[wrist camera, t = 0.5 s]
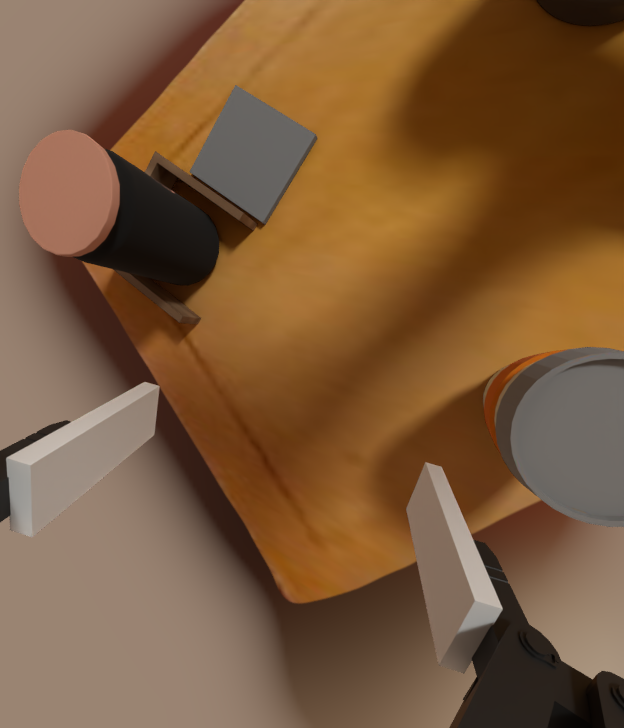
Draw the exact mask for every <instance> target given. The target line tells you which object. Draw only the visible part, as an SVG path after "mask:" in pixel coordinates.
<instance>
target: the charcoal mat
mask: <svg viewBox="0 0 624 728" xmlns="http://www.w3.org/2000/svg"><path fill="white" fill-rule="evenodd" d="M316 140H317V136H316V134H314V133H313V132H311V131H309V130H308V129H306V128H305V127H303V126H301V125H300V124H298V123H296V122H295V121H293V120H292V119H290V118H288V117H287V116H285V115H283V114H282V113H280V112H279V111H277V110H275V109H274V108H272V107H270V106H269V105H267V104H266V103H264V102H262V101H261V100H259V99H257V98H256V97H254V96H253V95H251V94H249V93H248V92H246V91H244V90H243V89H241V88H240V87H238V86H236V85H235V87H234V89H233V91H232V93H231V95H230V97H229V98H228V100H227V102H226V104H225V106H224V108H223V110H222V112H221V114H220V115H219V117H218V119H217V121H216V123H215V125H214V127H213V129H212V131H211V132H210V134H209V136H208V138H207V140H206V142H205V144H204V146H203V148H202V149H201V151H200V153H199V155H198V157H197V159H196V161H195V163H194V165H193V166H192V168H191V170H190V173H192V174H193V175H194V176H196V177H197V178H199V179H200V180H202V181H203V182H204V183H206V184H207V185H209V186H210V187H212V188H213V189H215V190H216V191H217V192H219V193H220V194H222V195H223V196H225V197H226V198H227V199H229V200H230V201H232V202H233V203H235V204H236V205H238V206H239V207H240V208H242V209H243V210H245V211H246V212H248V213H249V214H250V215H252V216H253V217H255V218H256V219H258V220H259V221H261V222H262V223H263V224H266V223H267V221H268V219H269V218H270V216H271V214H272V213H273V211H274V209H275V208H276V206H277V204H278V203H279V201H280V200H281V198H282V196H283V195H284V193H285V191H286V190H287V188H288V186H289V185H290V183H291V181H292V180H293V178H294V176H295V175H296V173H297V171H298V170H299V168H300V166H301V165H302V163H303V161H304V160H305V158H306V156H307V155H308V153H309V151H310V150H311V148H312V146H313V145H314V143H315V142H316Z"/></svg>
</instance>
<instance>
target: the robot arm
mask: <svg viewBox="0 0 624 728" xmlns="http://www.w3.org/2000/svg"><path fill="white" fill-rule="evenodd" d="M537 1H538V2H539V4H540V5H541V6H542V7H543V8H544V9H545V10H546V11H547V12H549V13H550V14H551V15H553V16H555V17H556V18H558V19H561V20H563V21H566V22H569V23H573V24H578V25H603V24H609V23H614V22H618V21H621V20H624V0H537ZM159 387H160V386H157V385H154V384H150V383H147V382H144V383H142V384H140V385H138V386H136V387H135V388H133V389H131V390H129V391H127V392H125V393H124V394H122V395H120V396H118V397H116V398H114V399H113V400H111V401H109V402H107V403H105V404H104V405H102V406H100V407H98V408H97V409H94V410H93V411H91V412H89V413H87V414H85V415H83V416H82V417H80V418H79V419H76V420H74V421H73V422H70V421H63V422H59V423H56V424H52V425H49V426H47V427H45V428H43V429H41V430H39V431H38V432H37V433H36V434H35V433H34V434H32V435H30V436H28V437H26V439H22V440H20V441H18V442H16V443H14V444H12V445H11V446H9V447H7V448H5V449H3V450H1V451H0V522H1V521H3V520H4V519H5V518H7V517H8V516H10V530H11V531H14V532H18V533H21V534H24V535H27V536H30V537H33V536H34V535H36V534H37V533H38V532H39V531H40V530H42V529H43V528H44V527H45V526H46V525H48V524H49V523H50V522H51V521H52V520H54V519H55V518H56V517H57V516H58V515H60V514H61V513H62V512H63V511H64V510H65V509H66V508H68V507H69V506H70V505H71V504H73V503H74V502H75V501H76V500H77V499H79V498H80V497H81V496H82V495H83V494H84V493H86V492H87V491H88V490H89V489H90V488H92V487H93V486H94V485H95V484H96V483H97V482H99V481H100V480H101V479H102V478H104V476H106V475H107V474H108V473H109V472H111V471H112V470H113V469H114V468H115V467H117V466H118V465H119V464H120V463H121V462H123V461H124V460H125V459H126V458H127V457H128V456H130V455H131V454H132V453H133V452H135V451H136V450H137V449H138V448H139V447H140V446H142V445H143V444H144V443H145V442H146V441H148V440H149V439H150V438H151V437H152V436H153V435H154V433H155V423H156V415H157V405H158V396H159ZM406 511H407V516H408V520H409V525H410V530H411V535H412V540H413V544H414V549H415V554H416V559H417V564H418V568H419V573H420V578H421V582H422V587H423V592H424V597H425V602H426V607H427V611H428V616H429V621H430V626H431V631H432V635H433V640H434V645H435V649H436V654H437V659H438V664H439V666H442V667H445V668H448V669H452V670H455V671H458V672H461V673H465V671H466V669H467V668H468V666H469V665H470V663H471V661H473V664H474V668H475V671H476V675H477V677H476V679H475V681H474V682H473V684H472V685H471V687H470V689H469V690H468V692H467V693H466V695H465V697H464V698H463V700H464V701H463V703H462V705H461V707H460V709H459V711H458V712H457V714H456V716H455V718H454V720H453V722H452V724H451V726H450V728H624V679H623V678H621V677H619V676H617V675H615V674H613V673H611V672H606V671H601V672H600V673H598V674H597V675H596V676H595V678H594V679H593V680H592V679H591V678H589V677H587V676H585V675H584V674H582V673H581V672H579V671H577V670H576V669H574V668H572V667H571V666H569V665H567V664H566V663H564V662H562V661H561V659H560V657H559V654H558V652H557V651H556V649H555V648H554V647H553V645H552V644H551V643H550V641H549V640H548V639H547V638H546V637H544V636H543V635H542V633H540V632H539V631H538V630H536V629H535V628H533V627H532V626H530V625H529V623H528V621H527V619H526V617H525V615H524V613H523V611H522V609H521V607H520V605H519V603H518V601H517V599H516V597H515V595H514V593H513V590H512V588H511V586H510V584H508V580H507V578H506V576H505V574H504V572H502V568H501V566H500V564H499V562H498V559H497V558H496V556H495V555H494V553H493V552H492V551H491V550H490V549H489V547H488V546H487V545H486V544H485V543H483V542H479V541H476V540H473V539H472V536H471V534H470V531H469V529H468V527H467V524H466V522H465V520H464V518H463V515H462V513H461V511H460V508H459V506H458V504H457V501H456V499H455V497H454V494H453V492H452V490H451V487H450V485H449V483H448V480H447V478H446V476H445V473H444V471H443V469H442V467H441V466H437V465H434V464H430V463H427V462H425V464H424V467H423V469H422V472H421V474H420V477H419V479H418V481H417V484H416V486H415V489H414V491H413V493H412V496H411V498H410V501H409V503H408V505H407V508H406Z"/></svg>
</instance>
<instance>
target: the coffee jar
mask: <svg viewBox="0 0 624 728" xmlns="http://www.w3.org/2000/svg"><path fill="white" fill-rule="evenodd" d="M19 203H20V210H21V213H22V217H23V221H24V224H25V226H26V228H27V230H28V231H29V233H30V235H31V237H32V238H33V239H34V240H35V241H36V242H37V243H38V244H39V245H40V246H41V247H42V248H43V249H45V250H47V251H49V252H52V253H54V254H56V255H59V256H72V257H74V258H77V259H79V260H81V261H84V262H87V263H91V264H95V265H99V266H103V267H107V268H111V269H115V270H119V271H123V272H127V273H131V274H135V275H139V276H143V277H147V278H151V279H155V280H160V281H164V282H168V283H172V284H176V285H190V284H193V283H196V282H199V281H200V280H202V279H203V278H204V277H205V276H207V275H208V274H209V273H210V271H211V270H212V268H213V267H214V265H215V264H216V260H217V257H218V254H219V238H218V234H217V230H216V227H215V225H214V224H213V222H212V220H211V219H210V217H209V216H208V215H207V214H206V213H204V212H203V211H202V210H201V209H199V208H198V207H196V206H195V205H193V204H192V203H190V202H189V201H187V200H186V199H184V198H183V197H181V196H180V195H178V194H177V193H175V192H174V191H172V190H170V189H169V188H167V187H166V186H164V185H163V184H161V183H160V182H158V181H157V180H155V179H154V178H152V177H151V176H149V175H148V174H146V173H145V172H143V171H142V170H140V169H138V168H137V167H135V166H134V165H132V164H131V163H129V162H128V161H126V160H125V159H123V158H122V157H120V156H119V155H117V154H116V153H114V152H113V151H110V150H107V149H104V148H102V147H101V146H100V145H98V144H97V143H96V142H95V141H94V140H93V139H91V138H90V137H89V136H88V135H86V134H83V133H80V132H76V131H73V130H64V131H56V132H54V133H52V134H50V135H49V136H47V137H45V138H43V139H42V140H41V141H40V142H39V143H38V144H37V146H36V147H35V148H34V149H33V150H32V151H31V153H30V155H29V157H28V159H27V161H26V164H25V165H24V167H23V171H22V175H21V180H20V186H19Z"/></svg>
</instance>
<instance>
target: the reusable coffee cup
mask: <svg viewBox="0 0 624 728" xmlns="http://www.w3.org/2000/svg"><path fill="white" fill-rule="evenodd" d="M483 406H484V415H485V422H486V424H487V427H488V430H489V432H490V435H491V437H492V439H493V442H494V444H495V446H496V448H497V449H498V451H499V453H500V454H501V456H502V458H503V460H504V462H505V463H506V465H507V467H508V468H509V470H510V472H511V473H512V474H513V475H514V476H515V477H516V478H517V479H518V480H519V481H520V483H521V484H523V485H524V486H525V487H526V488H528V489H529V490H530V491H531V492H533V493H534V494H535V495H536V496H538V497H539V498H540V499H541V500H543V501H544V502H545V503H547V504H548V505H549V506H551V507H552V508H553V509H555V510H557V511H560V512H561V513H563V514H565V515H567V516H569V517H571V518H574V519H577V520H580V521H583V522H586V523H589V524H595V525H602V526H608V527H624V352H623V351H619V350H614V349H610V348H596V347H585V348H576V349H568V350H560V351H552V352H547V353H542V354H537V355H532V356H529V357H526V358H522V359H520V360H518V361H516V362H514V363H512V364H510V365H508V366H506V367H504V368H502V369H500V370H499V371H498V372H496V373H495V374H494V375H493V376H492V378H491V379H490V380H489V382H488V383H487V385H486V387H485V391H484V394H483Z"/></svg>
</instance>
